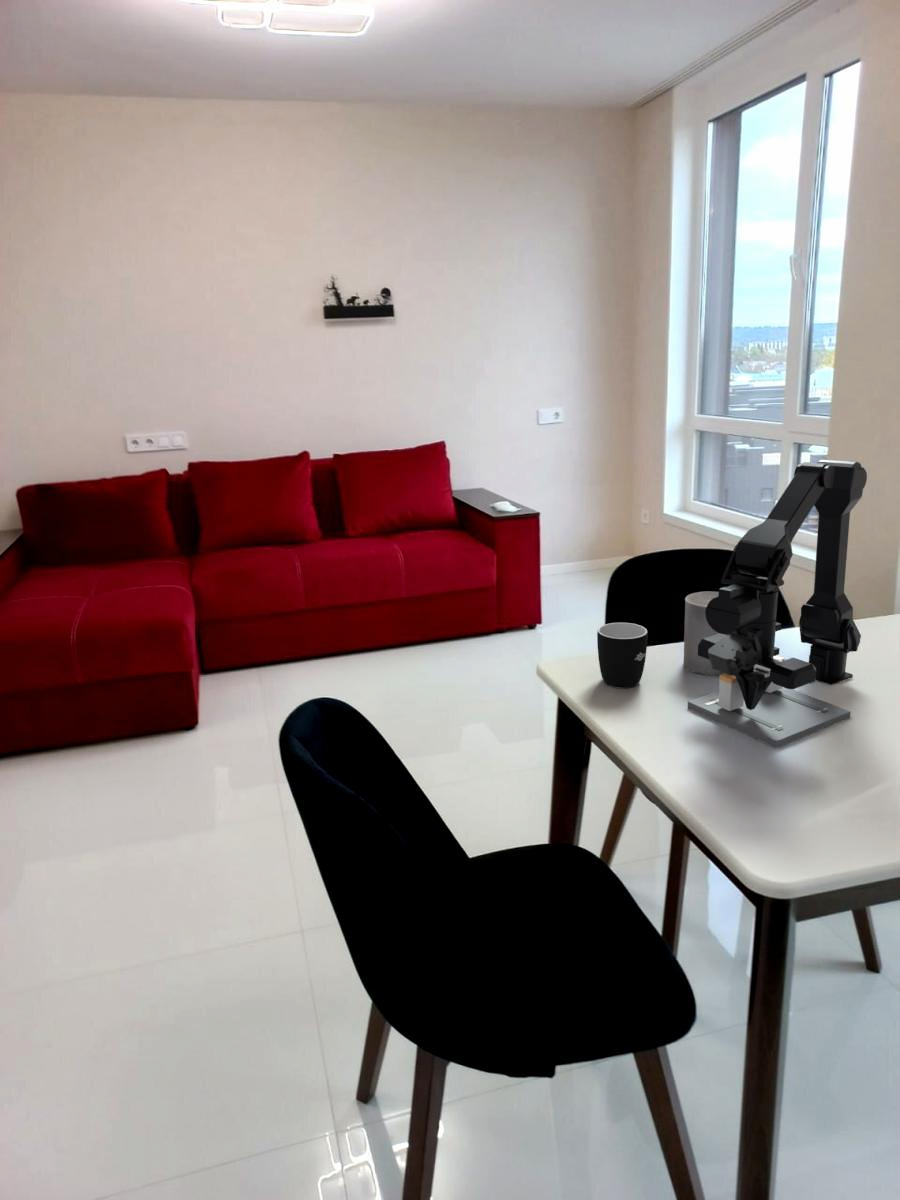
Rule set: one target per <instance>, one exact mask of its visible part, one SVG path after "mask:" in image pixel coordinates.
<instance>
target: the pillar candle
mask: <svg viewBox="0 0 900 1200" xmlns="http://www.w3.org/2000/svg"><path fill="white" fill-rule="evenodd" d="M718 594H719V591H709V590H708V591H706V590H705V591H698V592H693V593H692V592H691V593H690V594H688V595H686V597H685V598H684V600H685V601H684V602H685V603H684V631H683V632H684V634H683V635H684V636H683V643H684V644H683V667H684V668H685V669H686V670H687V671H688V672H691V673H694V674H695V673H696V674H702V675H707V676H720V675H721V674H724V673H725V672H722V671H719V670H714V669H713V668H712V666H711V662H710V660H709V659H706V658H704V657H701V656H698V654H697V653H698V644H699V642H700V641H701V640H702V639H703V638H706V637H710V636H713V635H716V634H719V633H718V632H716V631H715V630H713V629H712V628H711V627H710V625H709V624H708V622H707V620H706V616H705V609H706V608H707V605H708V603H709V602H710V601H711V600H712V599H713V598H716V597H718ZM724 635H727V636H728V635H729V634H724Z"/></svg>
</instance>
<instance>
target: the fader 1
mask: <svg viewBox="0 0 900 1200" xmlns="http://www.w3.org/2000/svg"><path fill="white" fill-rule="evenodd" d="M718 677H719V678H718V679H719V687H718V691H719V702H718V706H719V707H721V708H724V709H726V710H728V711H731V710H734V709H737V708H740V707H743V701H744V698H743V695H742V692H741V689H740V686H739V683H738V681H737V679H736V677H735V676H734V675H727V674H726V673H724V674H721V675H719V676H718Z"/></svg>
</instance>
